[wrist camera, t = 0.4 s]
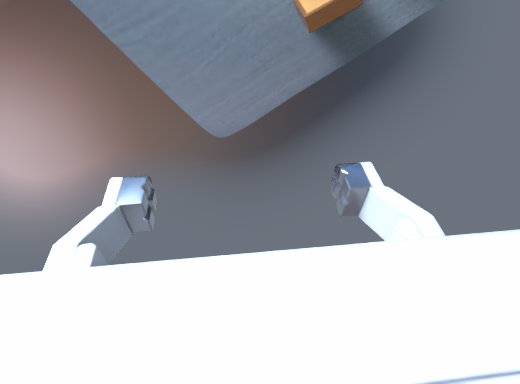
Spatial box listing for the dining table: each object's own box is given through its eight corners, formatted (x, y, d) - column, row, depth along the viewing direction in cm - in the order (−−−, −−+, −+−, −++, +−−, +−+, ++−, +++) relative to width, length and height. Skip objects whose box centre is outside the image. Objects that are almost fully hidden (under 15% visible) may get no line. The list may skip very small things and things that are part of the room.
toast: (298, 14, 52) (310, 33, 46) (293, -1, 50) (304, 17, 44) (344, -13, 50) (362, 4, 44) (340, -30, 48) (358, -14, 42)
